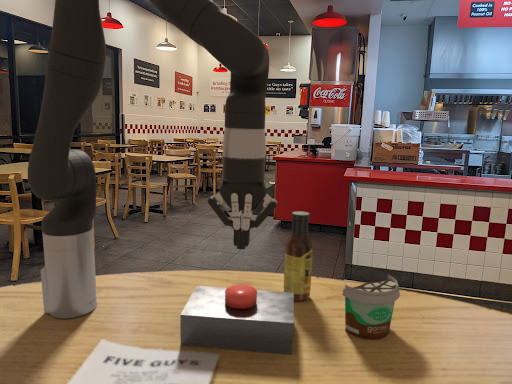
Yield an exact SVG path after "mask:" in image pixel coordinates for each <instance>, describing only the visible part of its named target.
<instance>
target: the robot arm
mask: <svg viewBox="0 0 512 384" xmlns="http://www.w3.org/2000/svg"><path fill="white" fill-rule="evenodd" d="M148 1H149V2H150V4H152V6H153V7H155V9H156V10H157V11H159V13H160V14H161V15H162V16H163V17H164V18H166V20H168V21H169V22H170V23H171V24H172V25H173V26H175V27H176V28H177V29H178V30H179V31H180V32H182V33H183V34H184V35H186V37H188V38H189V39H190V40H191V41H193V42H195V43H196V44H197V45H199V46H201V47H202V48H203V49H205V50H206V51H207V52H208V53H209V54H210V55H211V56H212V57H213V58H214V59H215V60H217V61H218V62H219V64H221V65H222V66H223V67H224V68H225V69H227V70H228V71H229V72H230V81H229V82H230V83H229V94H228V96H227V97H226V100H225V103H224V104H225V105H224V130H223V131H224V133H223V137H222V138H223V140H222V171H221V174H222V177H221V178H222V180H221V185H220V187H219V190H218V192H217V193H216V194H215V195H211V196H210V198H208V199H207V203H208V205H209V206H210V207H211V209H212V210H213V212H214V213H215V214H216V215H217V216H218V218H219V219H220V222H221V223H222V224H224V226H226V227H230V228H232V229H233V239H232V240H233V246H234V247H236V250H244V251H245V250H246V247H248V246H249V244H250V239H251V238H250V237H251V229H253V228H254V229H255V228H258V227H260V226H261V224H262V223H263V222H264V221H265V220H266V219H267V217H269V215H270V214H271V213H272V212H274V210H275V209H276V207H277V206H278V200H277V199H276V198H273V197H271V195H269V194H268V191H267V188H266V185H265V178H266V177H265V175H266V174H265V173H266V155H267V144H266V143H267V141H266V94H267V90H268V89H267V88H268V82H269V74H270V53H269V51H268V48H267V46H266V45H265V43H264V42H263V40H262V39H261V38H260V37H259V36H258V35H257V34H256V33H254V32H253V31H252V30H251V29H249V28H248V27H246V26H245V25H244V24H242V23H241V22H239V21H238V20H237V19H235V18H234V17H232V16H230V15H229V14H227V13H226V11H224V10H223V8H222V7H220V6H219V5H218V3H215V2H214V1H213V0H148ZM53 9H54V10H53V11H54V12H53V18H52V29H51V34H50V41H49V46H48V48H49V49H48V52H47V61H46V69H45V81H44V88H43V94H42V100H41V107H40V113H39V119H38V123H37V128H36V131H35V136H34V139H33V142H32V146H31V151H30V155H29V160H28V165H27V180H28V181H27V182H28V186H29V188H30V191H31V192H32V194H33V195H35V197H36V198H37V199H39V200H43V201H55V200H57V202H56V205H55V206H54V207H53V208H52V209H51V210H50V211H49V212H48V213H47V214H45V215H44V216H43V217H42V219H41V233H42V243H43V245H42V246H43V254H44V266H43V267H42V268H41V269H40V279H41V280H40V281H41V292H42V304H43V313H44V314H49V315H50V316H51V317H53V318H54V319H55V318H56V319H74V318H78V317H82V316H85V315H87V314H89V313H91V312H92V311H94V310H95V308H96V307H97V306H98V303H97V302H98V301H97V298H98V295H97V282H96V281H97V280H96V279H97V278H96V262H95V261H96V259H95V258H96V257H95V242H94V227H93V225H94V223H93V222H94V218H95V215H96V212H97V176H96V174H97V173H96V168H95V165H94V162H93V159H91V157H90V155H89V154H87V152H85V151H83V150H81V149H74V148H73V149H71V145H72V141H73V136H74V134H75V131H76V130H77V128H78V125H79V124H80V122H81V120H82V119H83V118H84V116H85V115H86V114H87V113H88V110H89V109H90V108H91V107H92V105H93V104H94V102H95V100H96V99H97V97H98V95H99V93H100V90H101V87H102V83H103V80H104V74H105V67H106V62H107V61H106V60H107V45H106V38H105V32H104V27H103V22H102V17H101V16H102V15H101V12H100V0H55V2H54V8H53ZM223 200H224V201H223ZM262 201H264V202H263V203H262V206H263V209H262V210H261V211H260V212H259V213H258V214H257V216H255V218H252V217H253V216H252V215H253V211H255V210H256V209H257V207H258V206H259V205H260V204H261V202H262ZM224 202H225V203H226V205H227V206H228V207H229V209H230V210H231V214H230V213H229V212H228V210H227V209H226V208H225V206H224V205H223V204H224ZM242 211H243V221H242Z"/></svg>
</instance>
